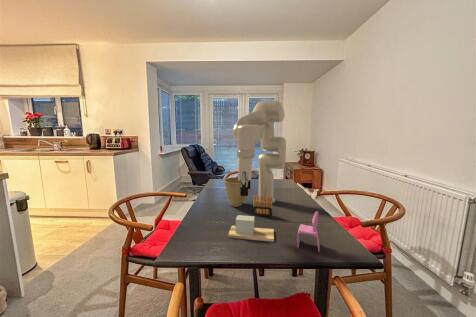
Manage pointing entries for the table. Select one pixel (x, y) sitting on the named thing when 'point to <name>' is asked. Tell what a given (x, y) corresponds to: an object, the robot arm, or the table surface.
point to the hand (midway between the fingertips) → (245, 192)
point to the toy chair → (309, 229)
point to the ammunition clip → (262, 206)
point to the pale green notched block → (245, 224)
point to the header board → (259, 234)
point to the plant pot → (233, 191)
